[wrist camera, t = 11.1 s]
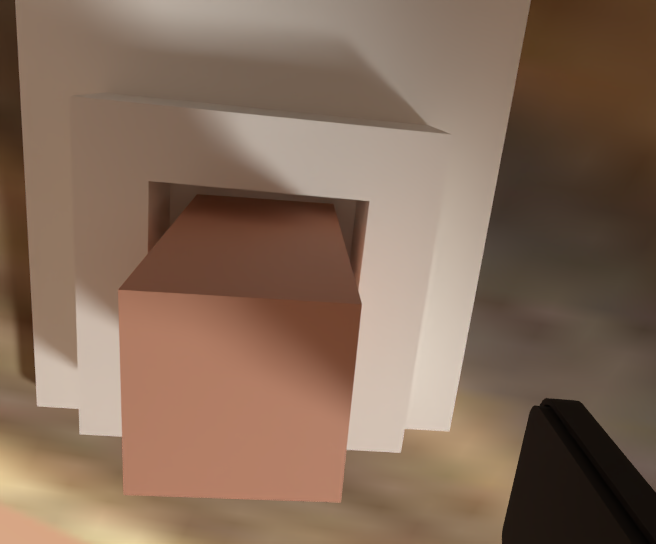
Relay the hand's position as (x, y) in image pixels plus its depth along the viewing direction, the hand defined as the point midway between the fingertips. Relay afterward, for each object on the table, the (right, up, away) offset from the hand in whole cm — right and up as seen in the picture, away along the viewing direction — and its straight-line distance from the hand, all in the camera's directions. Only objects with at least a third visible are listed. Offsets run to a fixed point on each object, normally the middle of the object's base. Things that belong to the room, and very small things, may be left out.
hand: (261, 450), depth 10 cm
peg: (-1, +3, +10) cm, 10 cm away
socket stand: (-1, +7, +9) cm, 12 cm away
